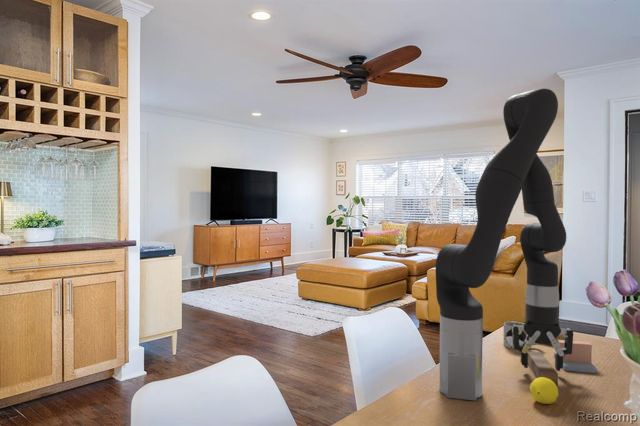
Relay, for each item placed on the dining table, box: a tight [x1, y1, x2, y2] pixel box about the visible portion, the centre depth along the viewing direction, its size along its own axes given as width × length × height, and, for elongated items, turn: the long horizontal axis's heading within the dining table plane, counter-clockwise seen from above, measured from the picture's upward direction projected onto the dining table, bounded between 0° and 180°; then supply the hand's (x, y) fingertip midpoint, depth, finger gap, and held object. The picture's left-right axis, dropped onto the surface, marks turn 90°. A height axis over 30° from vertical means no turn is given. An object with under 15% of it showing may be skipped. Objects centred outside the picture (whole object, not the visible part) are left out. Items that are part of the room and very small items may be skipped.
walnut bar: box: [527, 350, 559, 388], centre depth 113 cm, size 16×4×4 cm, turn 167°
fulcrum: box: [553, 340, 598, 374], centre depth 120 cm, size 11×8×6 cm
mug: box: [503, 321, 539, 350], centre depth 135 cm, size 10×7×7 cm
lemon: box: [529, 377, 559, 405], centre depth 96 cm, size 7×5×5 cm
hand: (541, 368), depth 113 cm, fingers open, 7 cm apart
